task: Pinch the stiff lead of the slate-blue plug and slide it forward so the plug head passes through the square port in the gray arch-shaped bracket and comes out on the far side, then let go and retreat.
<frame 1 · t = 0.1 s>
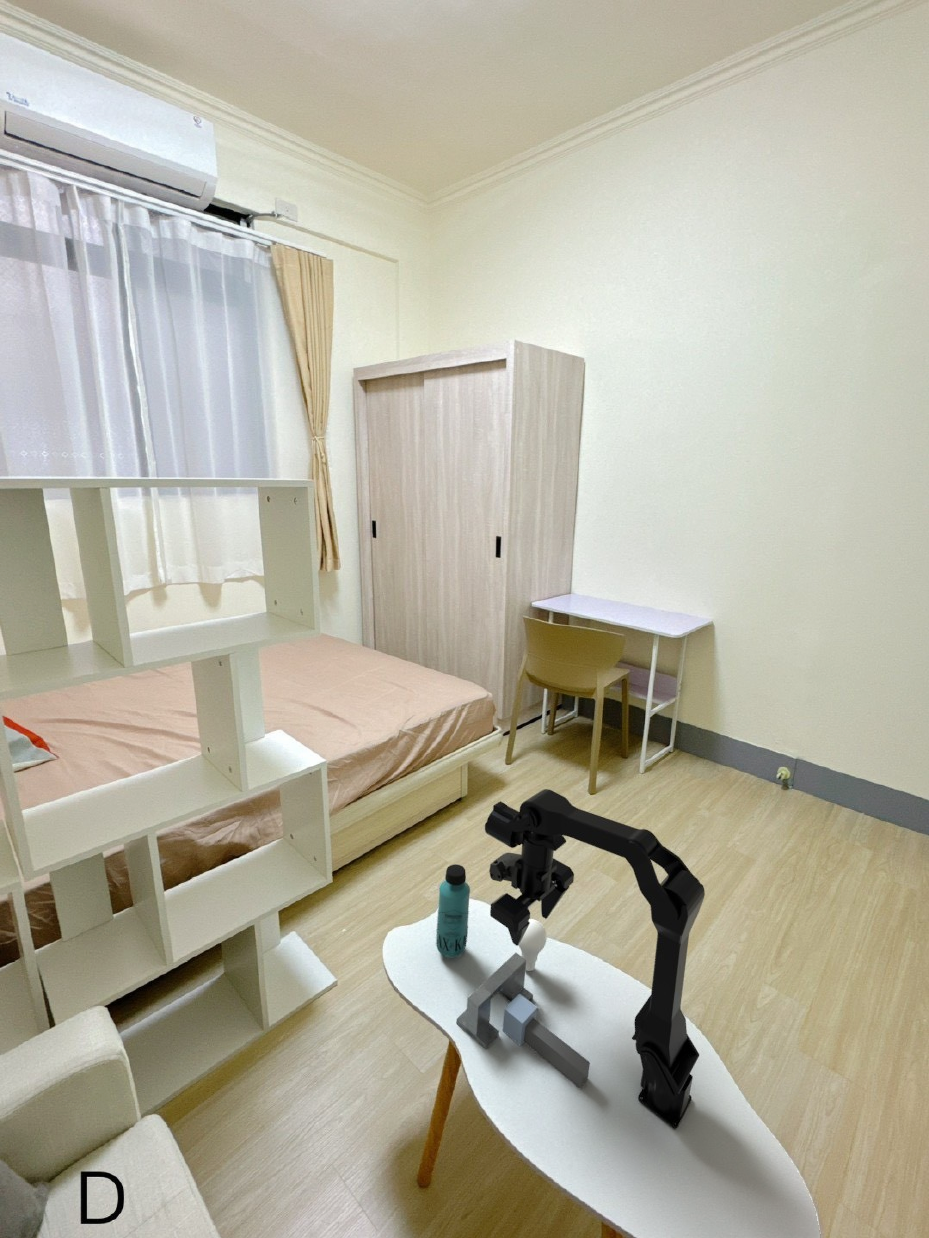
hand: (530, 930, 108), 15 cm above the table, fingers open, 9 cm apart
gray arch-shaped bracket: (495, 1010, 108), on the table
beverage bottle: (451, 952, 120), on the table
lightbulb: (528, 969, 117), on the table
plug: (518, 1030, 104), on the table
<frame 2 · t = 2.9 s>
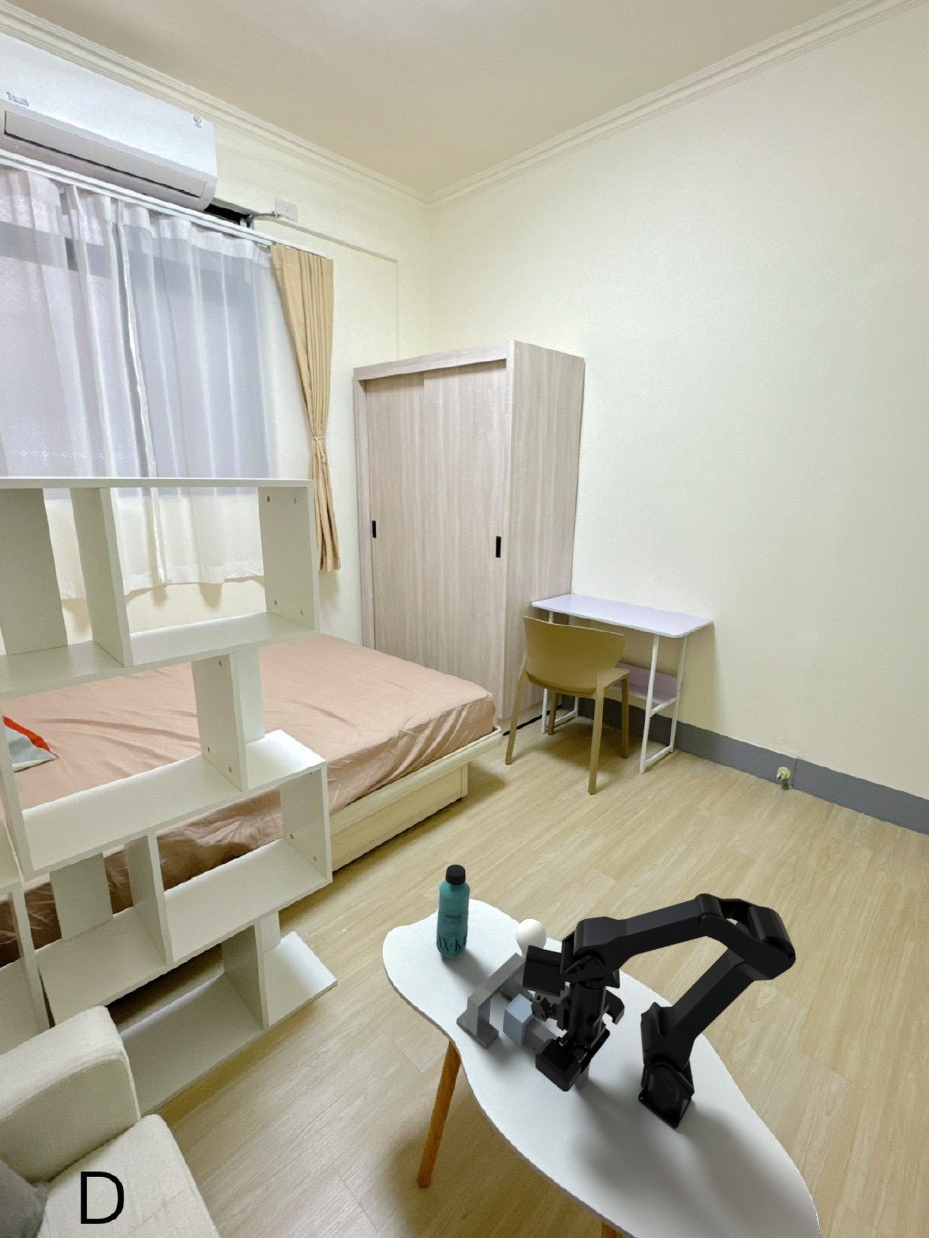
hand: (576, 1072, 96), 1 cm above the table, fingers closed on plug, 2 cm apart
plug: (518, 1029, 104), on the table, touching gripper
everything else where it was.
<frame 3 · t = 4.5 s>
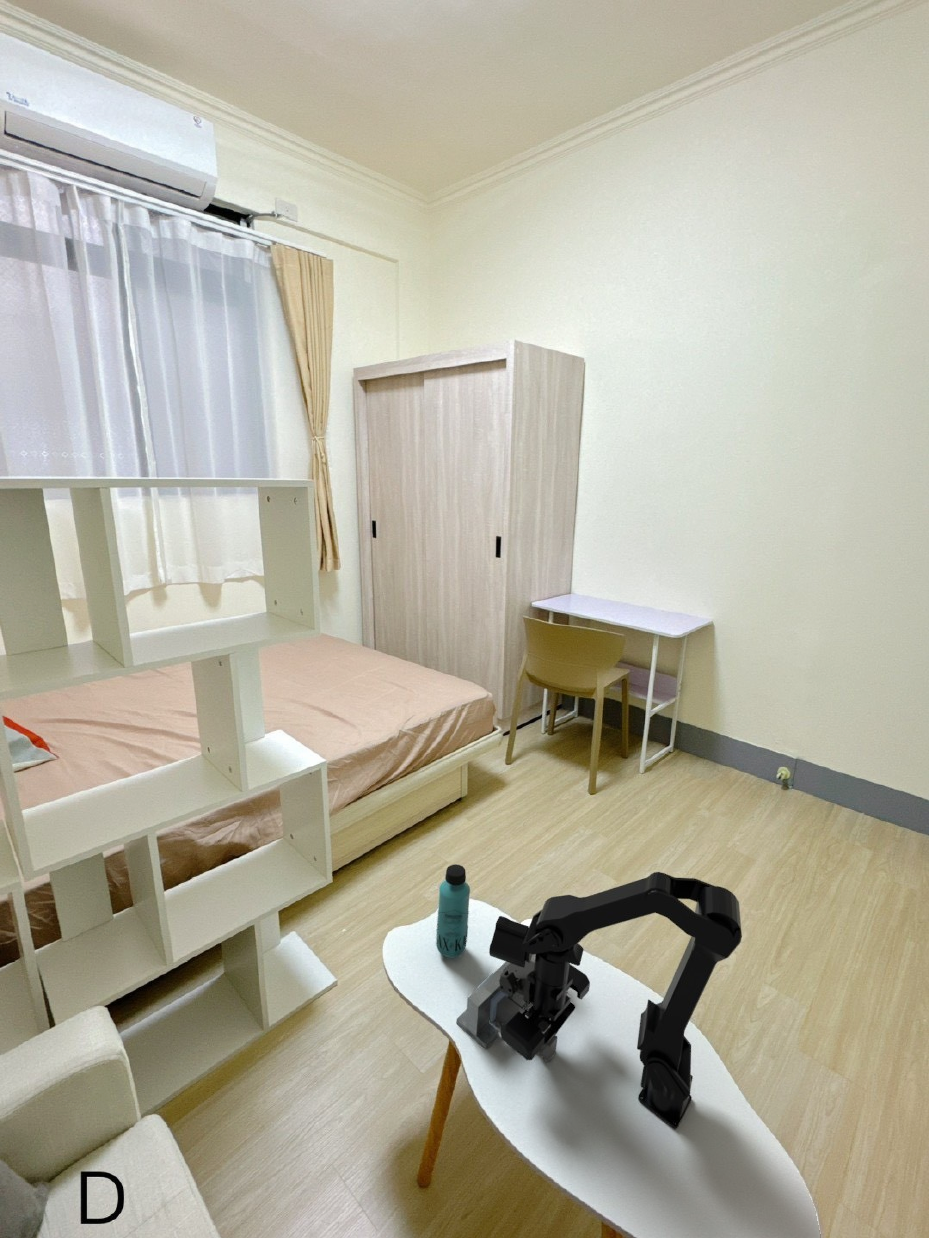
hand: (543, 1044, 100), 1 cm above the table, fingers closed on plug, 2 cm apart
plug: (491, 1007, 108), on the table, touching gripper
everything else where it was.
when the fingers open (1 cm above the table, at t = 6.1 s): plug stays where it is, on the table.
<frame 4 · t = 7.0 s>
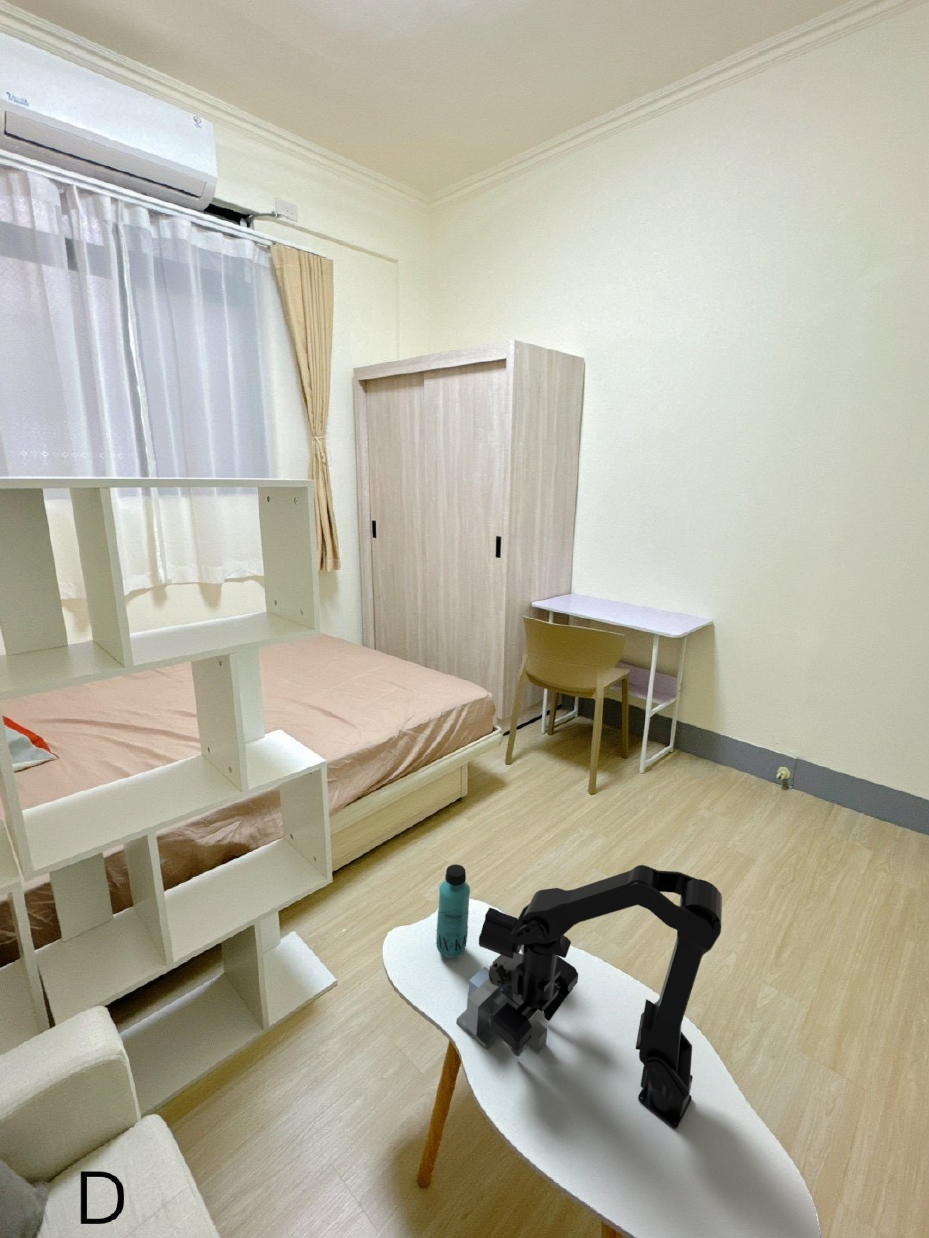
hand: (532, 1035, 102), 1 cm above the table, fingers open, 9 cm apart
plug: (483, 1000, 109), on the table
everything else where it was.
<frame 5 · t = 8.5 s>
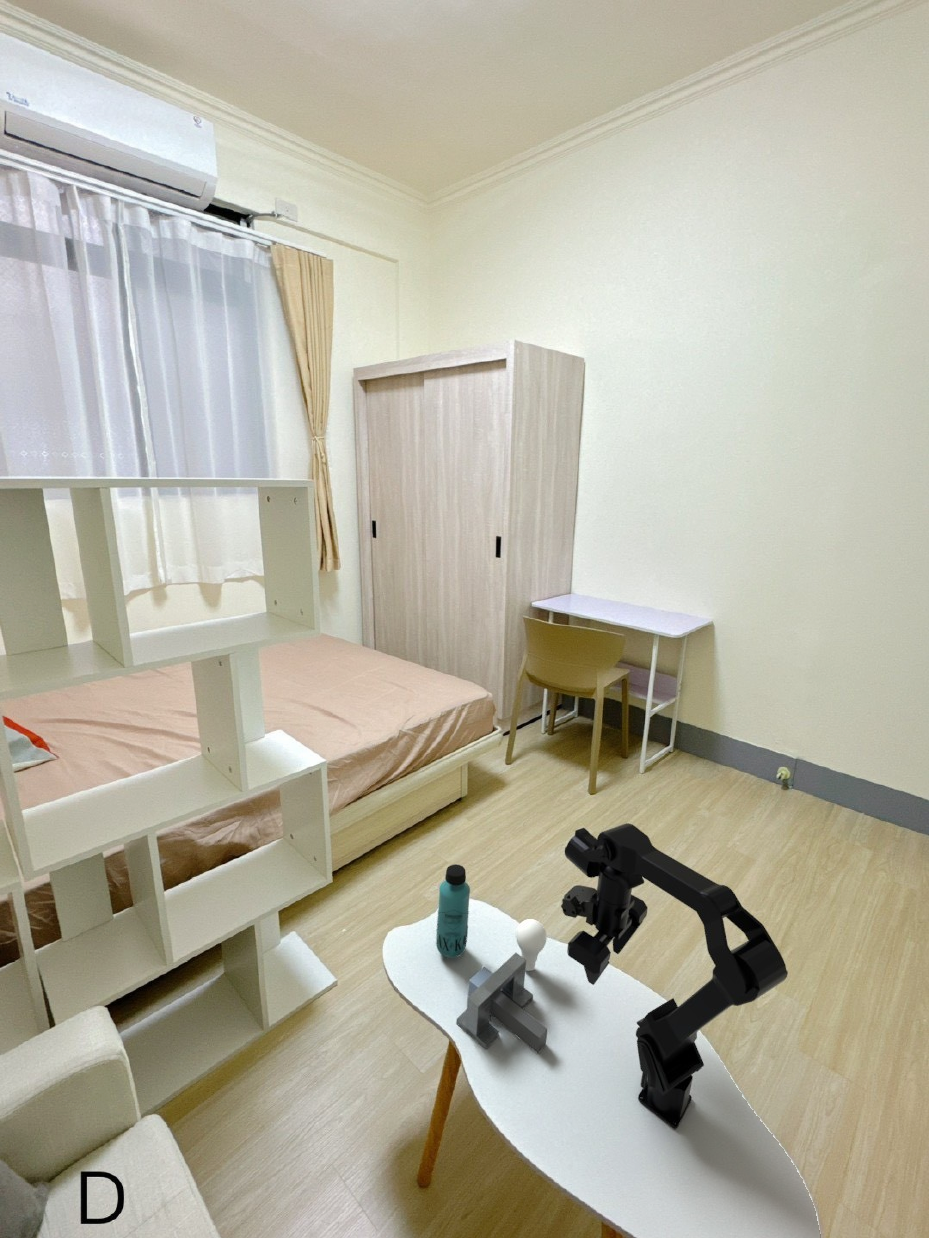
hand: (604, 967, 104), 12 cm above the table, fingers open, 9 cm apart
nothing on the table moved.
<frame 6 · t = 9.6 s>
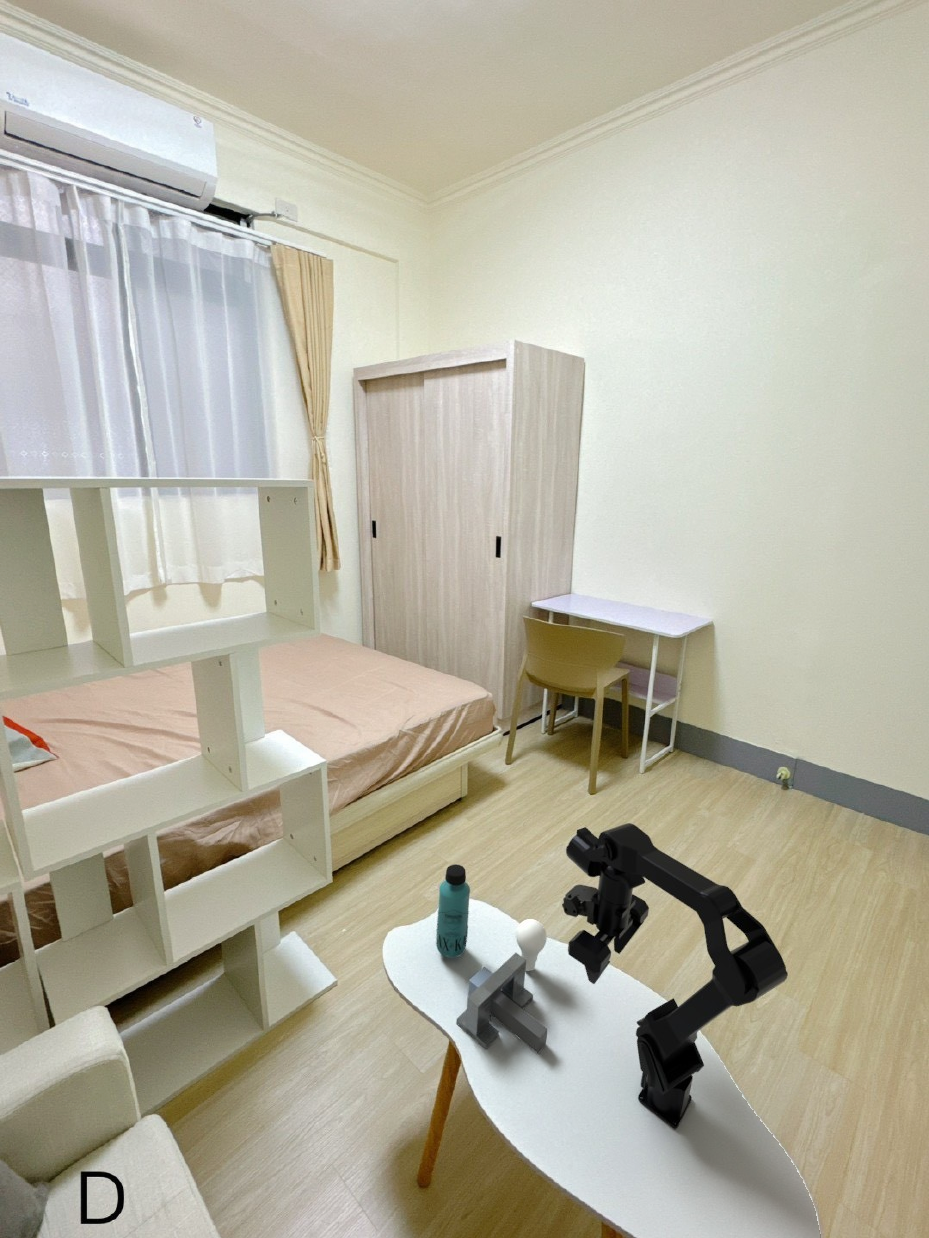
hand: (604, 966, 104), 12 cm above the table, fingers open, 9 cm apart
nothing on the table moved.
at the end: plug inside the target area (3.8 cm from its centre), on the table; plug tilted 0°; the gripper is holding nothing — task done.
